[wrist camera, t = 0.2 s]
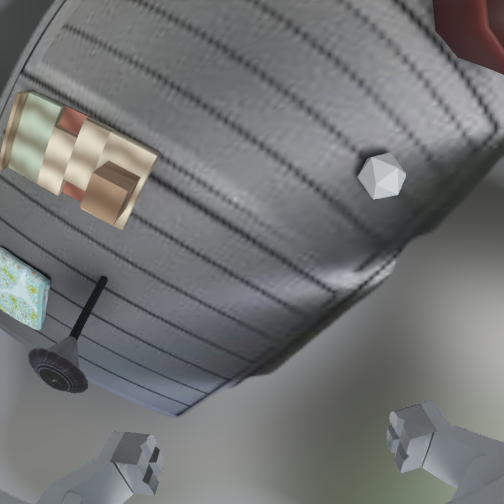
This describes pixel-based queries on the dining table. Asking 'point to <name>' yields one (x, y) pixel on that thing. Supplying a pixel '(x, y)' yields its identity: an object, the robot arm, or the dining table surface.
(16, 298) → the towel
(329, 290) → the dining table surface
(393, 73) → the dining table surface
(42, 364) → the solar garden light
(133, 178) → the walnut block
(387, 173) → the die
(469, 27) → the bucket
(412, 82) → the dining table surface
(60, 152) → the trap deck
